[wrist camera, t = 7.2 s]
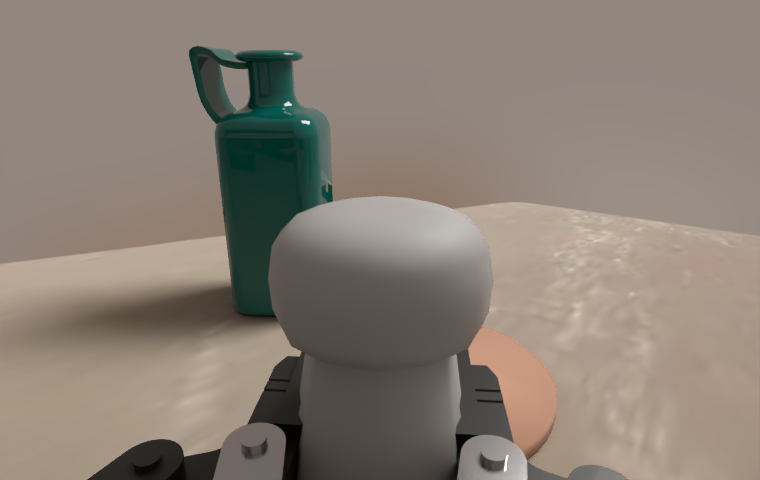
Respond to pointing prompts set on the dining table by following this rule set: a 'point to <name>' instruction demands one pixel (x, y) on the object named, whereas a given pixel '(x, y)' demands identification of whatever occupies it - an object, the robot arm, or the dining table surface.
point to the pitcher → (262, 161)
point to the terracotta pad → (519, 387)
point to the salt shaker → (380, 332)
